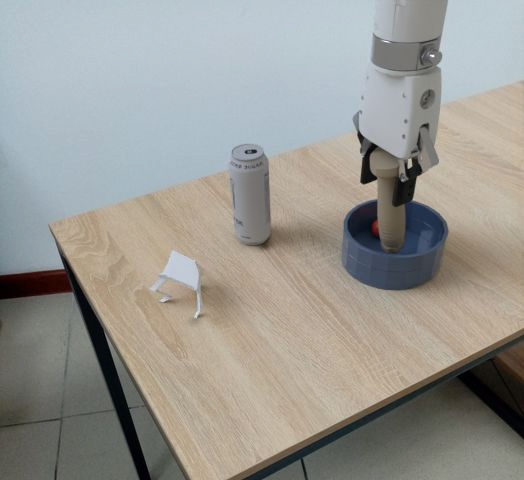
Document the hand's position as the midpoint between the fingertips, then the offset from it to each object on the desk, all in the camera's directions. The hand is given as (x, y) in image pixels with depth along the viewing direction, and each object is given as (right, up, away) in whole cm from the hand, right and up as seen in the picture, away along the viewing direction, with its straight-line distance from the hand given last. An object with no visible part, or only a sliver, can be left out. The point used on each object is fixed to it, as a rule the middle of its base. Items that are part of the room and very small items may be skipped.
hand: (385, 190), depth 73 cm
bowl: (+3, -8, +10) cm, 13 cm away
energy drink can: (-19, -3, +16) cm, 24 cm away
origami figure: (-28, -14, +6) cm, 32 cm away
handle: (+3, -7, +7) cm, 10 cm away
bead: (+2, -3, +12) cm, 12 cm away
